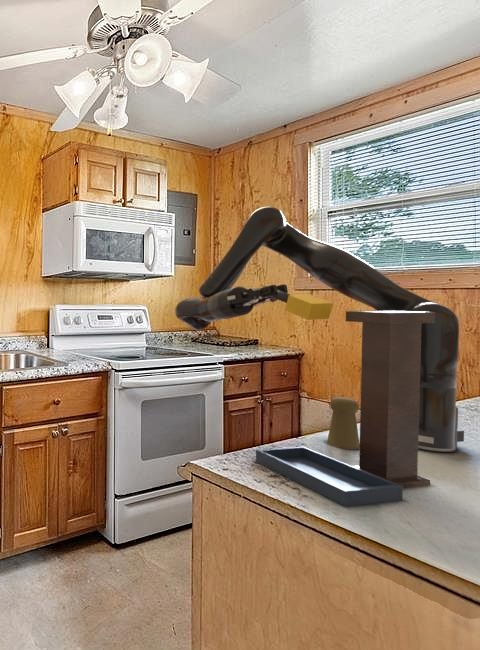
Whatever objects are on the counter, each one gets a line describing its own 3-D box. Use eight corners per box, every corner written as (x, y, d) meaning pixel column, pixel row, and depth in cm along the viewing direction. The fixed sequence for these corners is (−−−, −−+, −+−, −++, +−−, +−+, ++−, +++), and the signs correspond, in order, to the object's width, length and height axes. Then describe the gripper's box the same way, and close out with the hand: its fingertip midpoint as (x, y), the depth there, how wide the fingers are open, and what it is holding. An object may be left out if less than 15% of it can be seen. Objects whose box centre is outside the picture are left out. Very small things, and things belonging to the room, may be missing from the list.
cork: (347, 440, 102) (348, 395, 102) (366, 449, 96) (368, 401, 96) (321, 439, 103) (322, 394, 103) (338, 448, 97) (339, 401, 97)
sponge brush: (270, 295, 102) (273, 281, 101) (329, 318, 87) (333, 302, 86) (251, 296, 101) (255, 282, 100) (307, 320, 86) (312, 303, 85)
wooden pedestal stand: (384, 468, 86) (388, 310, 85) (430, 485, 78) (435, 312, 77) (342, 471, 84) (345, 311, 83) (385, 489, 76) (389, 312, 75)
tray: (302, 457, 92) (303, 446, 92) (402, 500, 73) (403, 486, 72) (255, 461, 90) (255, 449, 90) (345, 506, 71) (345, 491, 70)
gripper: (203, 291, 112) (250, 273, 95) (250, 289, 114) (304, 271, 98) (208, 318, 111) (256, 306, 94) (255, 316, 113) (310, 303, 96)
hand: (280, 288), depth 96 cm, fingers closed on sponge brush, 2 cm apart
